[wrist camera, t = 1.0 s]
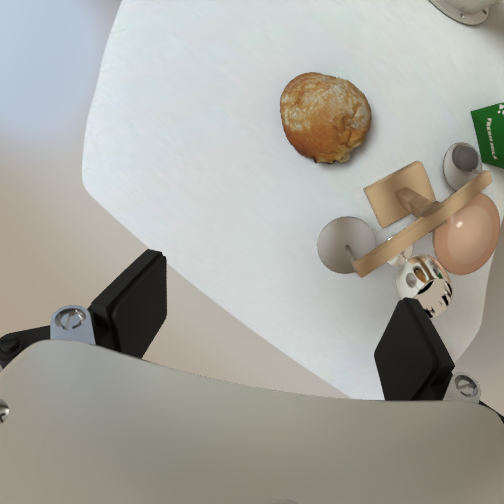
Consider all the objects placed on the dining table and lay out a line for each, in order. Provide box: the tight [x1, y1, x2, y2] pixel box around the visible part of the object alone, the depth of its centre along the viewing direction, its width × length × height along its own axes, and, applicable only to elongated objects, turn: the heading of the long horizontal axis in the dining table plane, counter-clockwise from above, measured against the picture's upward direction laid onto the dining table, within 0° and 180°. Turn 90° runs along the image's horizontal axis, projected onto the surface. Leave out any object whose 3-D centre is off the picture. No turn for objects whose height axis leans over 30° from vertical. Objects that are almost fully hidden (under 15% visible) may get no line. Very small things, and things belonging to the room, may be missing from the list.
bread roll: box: [280, 72, 371, 164], centre depth 27 cm, size 10×10×8 cm
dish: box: [433, 193, 500, 275], centre depth 31 cm, size 12×12×1 cm
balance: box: [317, 142, 492, 278], centre depth 25 cm, size 24×6×12 cm, turn 122°
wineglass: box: [387, 235, 453, 319], centre depth 28 cm, size 6×6×12 cm
